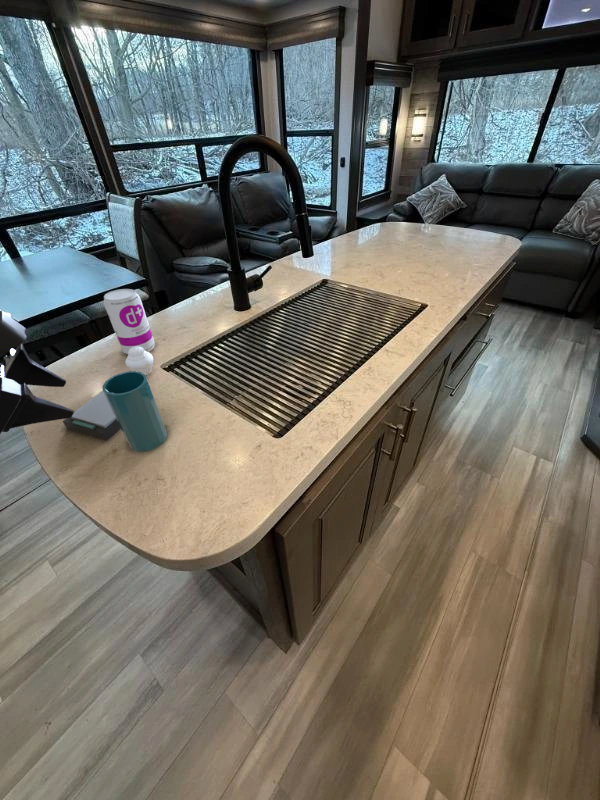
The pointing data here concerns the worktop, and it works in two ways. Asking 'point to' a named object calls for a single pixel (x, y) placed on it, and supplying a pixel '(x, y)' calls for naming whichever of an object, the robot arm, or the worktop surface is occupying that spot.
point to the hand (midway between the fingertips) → (68, 398)
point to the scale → (94, 419)
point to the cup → (135, 410)
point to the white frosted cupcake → (139, 360)
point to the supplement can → (128, 319)
